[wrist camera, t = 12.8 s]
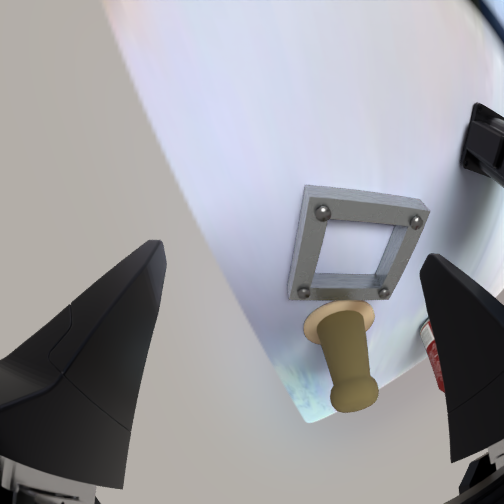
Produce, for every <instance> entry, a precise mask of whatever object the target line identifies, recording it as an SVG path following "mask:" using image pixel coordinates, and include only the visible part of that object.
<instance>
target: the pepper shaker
mask: <svg viewBox="0 0 504 504" xmlns="http://www.w3.org/2000/svg"><path fill="white" fill-rule="evenodd" d="M317 334H318V337H319V340H320V343H321V346H322V349H323V353H324V356H325V359H326V362H327V365H328V368H329V371H330V375H331V378H332V381H333V384H334V386H333V388H332V390H331V395H330V399H331V404H332V406H333V407H334V408H335V409H336V410H337V411H339V412H343V413H348V412H355V411H359V410H362V409H365V408H367V407H369V406H371V405H372V404H373V403H375V401H376V400H377V397H378V392H379V390H378V386H377V383H376V381H375V379H374V378H372V377H371V376H370V368H369V358H368V348H367V340H366V332H365V324H364V318H363V315H361V314H360V313H359V312H356V311H351V310H345V311H339V312H336V313H333V314H330V315H328V316H327V317H325V318H324V319H322V320H321V321H320V322H319V324H318V325H317Z"/></svg>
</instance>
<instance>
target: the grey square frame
mask: <svg viewBox="0 0 504 504" xmlns="http://www.w3.org/2000/svg"><path fill="white" fill-rule="evenodd" d="M429 213H430V210H429V209H428V208H427V207H426V206H425V204H424V203H423V202H422V201H421V200H420V199H414V198H408V197H402V196H396V195H389V194H382V193H375V192H367V191H360V190H351V189H343V188H333V187H323V186H313V185H305V189H304V195H303V201H302V207H301V213H300V219H299V225H298V231H297V236H296V242H295V247H294V253H293V258H292V264H291V269H290V274H289V279H288V284H287V286H288V295H289V300H389V298H390V296H391V295H392V293H393V291H394V289H395V287H396V285H397V283H398V281H399V279H400V277H401V276H402V274H403V272H404V270H405V268H406V265H407V263H408V261H409V259H410V257H411V255H412V253H413V251H414V249H415V246H416V244H417V242H418V240H419V237H420V235H421V233H422V230H423V228H424V226H425V223H426V221H427V218H428V216H429ZM329 219H336V220H348V221H360V222H371V223H382V224H392V225H395V227H394V230H393V232H392V235H391V238H390V240H389V243H388V245H387V248H386V250H385V253H384V255H383V257H382V260H381V262H380V264H379V267H378V269H377V271H376V274H375V275H368V274H325V273H315V269H316V265H317V261H318V258H319V254H320V250H321V246H322V242H323V238H324V234H325V230H326V226H327V221H328V220H329Z"/></svg>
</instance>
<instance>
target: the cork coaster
mask: <svg viewBox="0 0 504 504" xmlns="http://www.w3.org/2000/svg"><path fill="white" fill-rule="evenodd" d="M345 310H351V311H356V312H359V313H360V314H361V315H363V318H364V324H365V332H366V331H367V330H368V329H369V328H370V327H371V325H372V324H373V322H374V318H375V315H374V311H373V308H372V307H371V305H370V304H368V303H367V302H365V301H363V300H336V301H333V302H330V303H327V304H325V305H323V306H321V307H319V308H317V309H316V310H315V311H313V312H312V313H311V314H310V315H309V316H308V317H307V319H306V320H305V323H304V334H305V336H306V338H307V339H308V340H310V341H311V342H313V343H316V344H320V345H321V343H320V340H319V337H318V334H317V325H318V324H319V322H320V321H321V320H322V319H324V318H325V317H327V316H328V315H330V314H333V313H336V312H339V311H345Z"/></svg>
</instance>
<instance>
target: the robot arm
mask: <svg viewBox="0 0 504 504" xmlns="http://www.w3.org/2000/svg"><path fill="white" fill-rule="evenodd" d="M465 162H466V163H465ZM460 163H461V166H462V167H464V168H465V169H468V170H471V171H474V172H477V173H480V174H482V175H485V176H488V177H490V178H492V179H494V180H495V181H496V182H497V183H498V184H500V185H501V186H502V187H503V188H504V117H502V116H501V115H499V114H497V113H496V112H494V111H493V110H491V109H489V108H488V107H486V106H484V105H482V104H480V103H478V102H477V103H475V105H474V110H473V115H472V119H471V124H470V128H469V132H468V136H467V140H466V144H465V147H464V151H463V155H462V158H461V162H460ZM166 265H167V263H166V256H165V251H164V245H163V242H162V241H161V240H148V241H147V242H145V243H144V244H143V245H141V246H140V247H139V248H138V249H136V250H135V251H134V252H132V253H131V254H130V255H128V256H127V257H126V258H125V259H123V260H122V261H121V262H119V263H118V264H117V265H116V266H114V267H113V268H112V269H111V270H110V271H108V272H107V273H106V274H105V275H103V276H102V277H101V278H100V279H98V280H97V281H96V282H95V283H94V284H92V285H91V286H90V287H89V288H88V289H86V290H85V291H84V292H83V293H82V294H81V295H79V296H78V297H77V298H76V299H75V300H74V301H72V303H71V305H70V304H69V305H68V306H67V307H66V308H64V309H63V310H62V311H61V312H60V313H59V314H58V315H56V316H55V317H54V318H53V319H52V320H51V321H50V322H48V323H47V324H46V325H45V326H43V327H42V328H41V329H40V330H39V331H37V332H36V333H35V334H34V335H32V336H31V337H30V338H29V339H27V340H26V341H25V342H24V343H22V344H21V345H20V346H19V347H18V348H17V349H15V350H14V351H13V352H12V353H10V354H9V355H8V356H7V357H5V358H3V359H1V360H0V504H100V502H99V501H98V499H97V498H96V496H95V493H96V485H97V486H102V487H109V488H115V489H123V484H124V476H125V468H126V461H127V454H128V448H129V442H130V436H131V432H130V431H131V429H132V423H133V418H134V413H135V408H136V403H137V398H138V393H139V389H140V384H141V380H142V375H143V371H144V366H145V362H146V358H147V354H148V350H149V346H150V342H151V338H152V334H153V330H154V327H155V323H156V320H157V316H158V312H159V307H160V301H161V295H162V289H163V284H164V277H165V272H166ZM420 280H421V285H422V289H423V293H424V298H425V303H426V308H427V313H428V316H429V320H430V324H431V328H432V332H433V336H434V340H435V344H436V348H437V353H438V357H439V362H440V367H441V372H442V378H443V384H444V390H445V397H446V404H447V412H448V424H449V435H450V436H449V437H450V456H451V457H450V459H451V463H453V462H456V461H458V460H461V459H463V458H466V457H468V456H470V455H473V454H475V453H477V452H479V451H481V450H484V449H485V448H488V452H487V453H486V454H484V455H482V456H481V457H479V458H477V459H476V460H474V461H472V462H471V463H470V464H469V467H468V469H467V471H466V473H465V475H464V478H463V480H462V482H461V484H460V486H459V496H457V497H455V498H453V499H452V500H450V501H448V502H446V503H444V504H504V305H503V304H501V303H500V302H499V301H498V300H497V299H496V298H495V297H493V296H492V295H491V294H490V293H489V292H488V291H486V290H485V289H484V288H483V287H482V286H480V285H479V284H478V283H477V282H475V281H474V280H473V279H472V278H470V277H469V276H468V275H467V274H465V273H464V272H463V271H461V270H460V269H459V268H458V267H456V266H455V265H454V264H452V263H451V262H450V261H448V260H447V259H445V258H444V257H443V256H441V255H440V254H435V253H431V254H429V255H428V256H427V258H426V260H425V262H424V264H423V266H422V268H421V270H420Z"/></svg>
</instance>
